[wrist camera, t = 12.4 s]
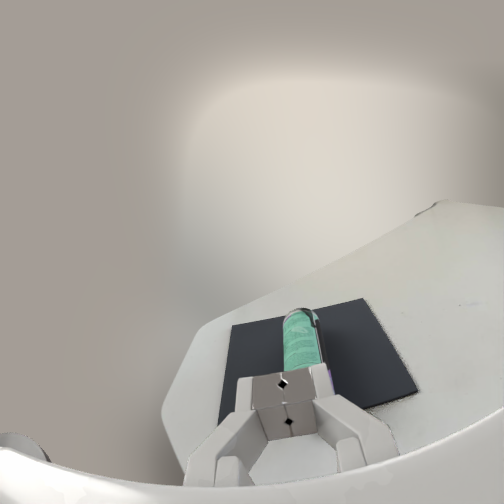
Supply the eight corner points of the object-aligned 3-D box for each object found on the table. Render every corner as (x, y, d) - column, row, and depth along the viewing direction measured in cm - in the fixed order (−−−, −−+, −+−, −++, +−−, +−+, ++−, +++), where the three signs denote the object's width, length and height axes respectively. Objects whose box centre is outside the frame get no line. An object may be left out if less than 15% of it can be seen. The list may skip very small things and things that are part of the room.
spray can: (348, 406, 27) (324, 311, 45) (309, 387, 26) (297, 292, 45) (312, 431, 28) (301, 334, 47) (274, 415, 27) (275, 317, 46)
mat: (217, 433, 30) (216, 431, 30) (232, 327, 53) (232, 325, 53) (417, 392, 28) (418, 389, 28) (362, 299, 50) (362, 297, 50)
